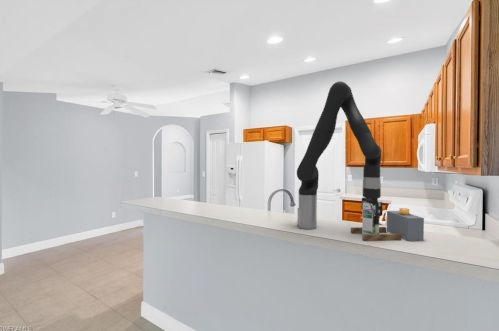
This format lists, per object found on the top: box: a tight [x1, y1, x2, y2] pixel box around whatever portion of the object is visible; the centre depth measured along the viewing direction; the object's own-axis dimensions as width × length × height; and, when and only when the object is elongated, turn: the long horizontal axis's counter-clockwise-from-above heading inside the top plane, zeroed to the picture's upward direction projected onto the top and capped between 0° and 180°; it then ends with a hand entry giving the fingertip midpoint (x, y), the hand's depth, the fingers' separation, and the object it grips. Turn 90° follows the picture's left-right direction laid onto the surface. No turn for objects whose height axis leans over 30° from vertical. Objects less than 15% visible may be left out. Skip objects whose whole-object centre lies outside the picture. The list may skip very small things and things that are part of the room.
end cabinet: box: [386, 210, 425, 242], centre depth 124 cm, size 7×16×10 cm, turn 4°
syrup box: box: [361, 202, 380, 234], centre depth 122 cm, size 6×6×14 cm
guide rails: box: [350, 226, 402, 242], centre depth 123 cm, size 17×13×2 cm
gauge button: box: [398, 207, 410, 216], centre depth 123 cm, size 4×4×4 cm
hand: (371, 222), depth 122 cm, fingers closed on syrup box, 8 cm apart
